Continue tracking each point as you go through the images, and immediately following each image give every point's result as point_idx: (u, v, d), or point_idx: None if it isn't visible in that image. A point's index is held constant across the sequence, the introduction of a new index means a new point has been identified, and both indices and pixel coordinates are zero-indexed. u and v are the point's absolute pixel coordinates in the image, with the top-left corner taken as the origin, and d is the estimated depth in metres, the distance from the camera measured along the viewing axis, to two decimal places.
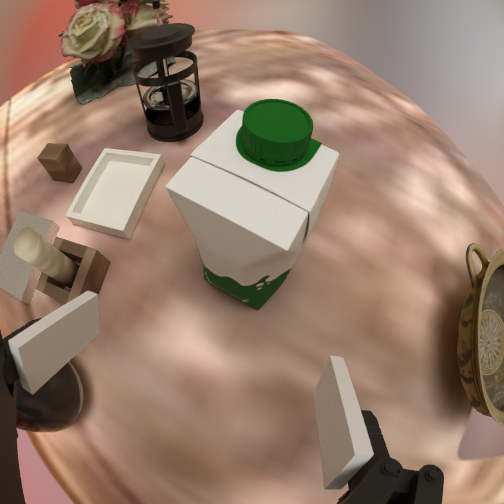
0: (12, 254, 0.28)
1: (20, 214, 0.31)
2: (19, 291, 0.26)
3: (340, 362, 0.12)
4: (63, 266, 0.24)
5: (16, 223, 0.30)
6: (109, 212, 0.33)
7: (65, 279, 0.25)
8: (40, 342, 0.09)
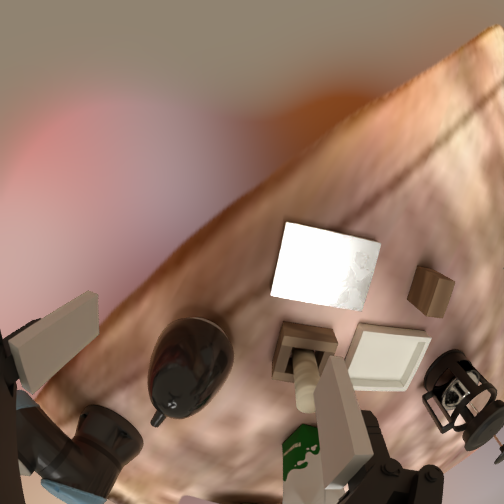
0: (324, 257, 0.32)
1: (376, 247, 0.31)
2: (280, 289, 0.33)
3: (340, 362, 0.12)
4: None
5: (365, 245, 0.31)
6: (363, 359, 0.36)
7: None
8: (40, 342, 0.09)
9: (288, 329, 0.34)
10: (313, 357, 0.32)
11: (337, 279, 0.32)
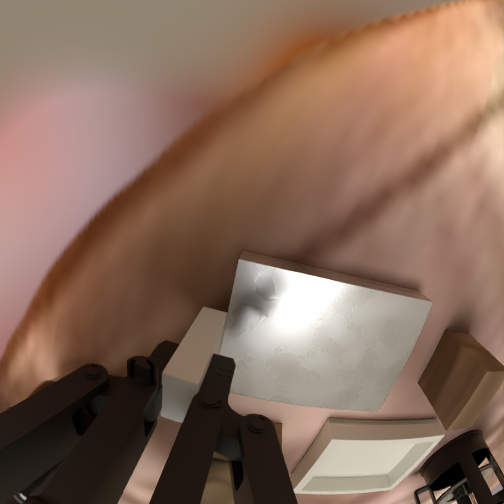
0: (320, 331, 0.15)
1: (423, 309, 0.14)
2: None
3: (221, 315, 0.15)
4: None
5: (403, 307, 0.14)
6: (333, 460, 0.19)
7: None
8: None
9: None
10: None
11: (341, 368, 0.15)
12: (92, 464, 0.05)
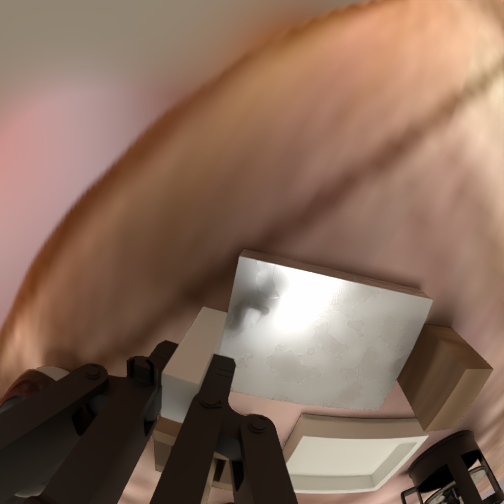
0: (321, 328, 0.15)
1: (424, 307, 0.14)
2: None
3: (222, 315, 0.15)
4: None
5: (404, 305, 0.14)
6: (310, 458, 0.19)
7: None
8: None
9: None
10: None
11: (342, 366, 0.15)
12: (92, 464, 0.05)
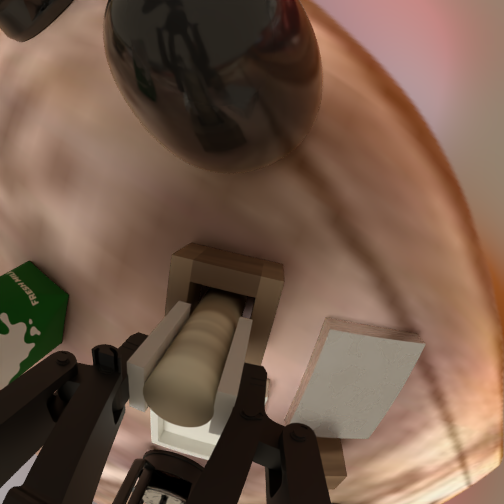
0: (371, 391, 0.20)
1: (365, 435, 0.21)
2: (338, 343, 0.19)
3: (247, 322, 0.15)
4: None
5: (371, 426, 0.21)
6: None
7: (200, 303, 0.17)
8: (157, 358, 0.11)
9: None
10: None
11: (337, 407, 0.20)
12: (66, 451, 0.05)
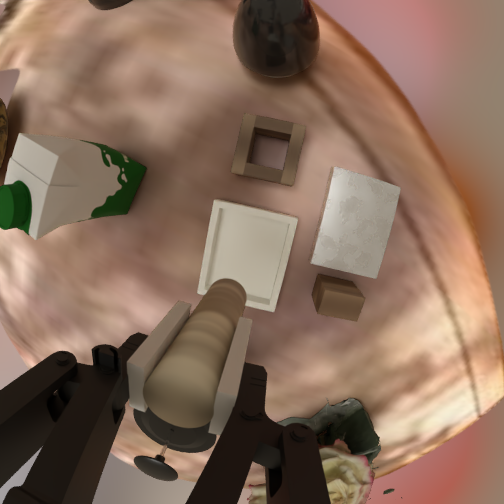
0: (369, 222, 0.31)
1: (373, 274, 0.33)
2: (340, 177, 0.30)
3: (247, 322, 0.15)
4: None
5: (376, 262, 0.32)
6: (247, 228, 0.34)
7: (200, 303, 0.17)
8: (157, 358, 0.11)
9: None
10: None
11: (348, 234, 0.32)
12: (66, 451, 0.05)
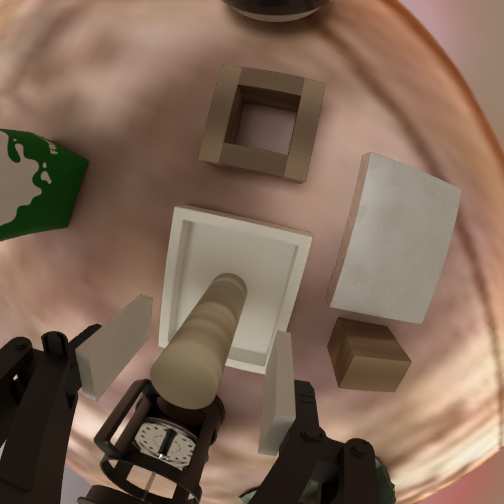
0: (420, 242, 0.19)
1: (418, 318, 0.20)
2: (380, 169, 0.18)
3: (286, 336, 0.14)
4: None
5: (424, 301, 0.20)
6: (230, 251, 0.22)
7: (203, 296, 0.18)
8: (107, 348, 0.10)
9: None
10: None
11: (388, 262, 0.19)
12: (29, 435, 0.04)
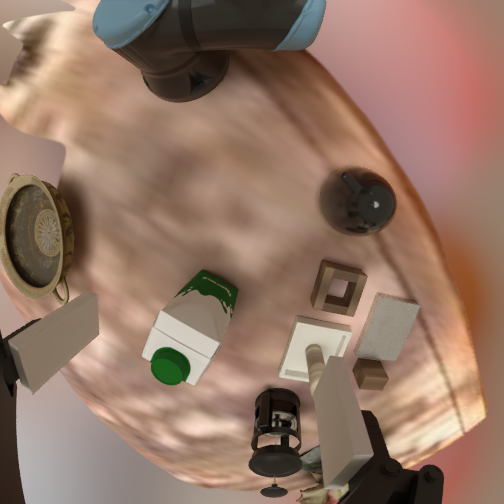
0: (396, 329, 0.44)
1: (394, 358, 0.45)
2: (383, 303, 0.43)
3: (340, 362, 0.12)
4: (308, 369, 0.41)
5: (397, 351, 0.45)
6: (316, 335, 0.46)
7: (311, 358, 0.43)
8: (40, 342, 0.09)
9: None
10: None
11: (381, 338, 0.44)
12: None
